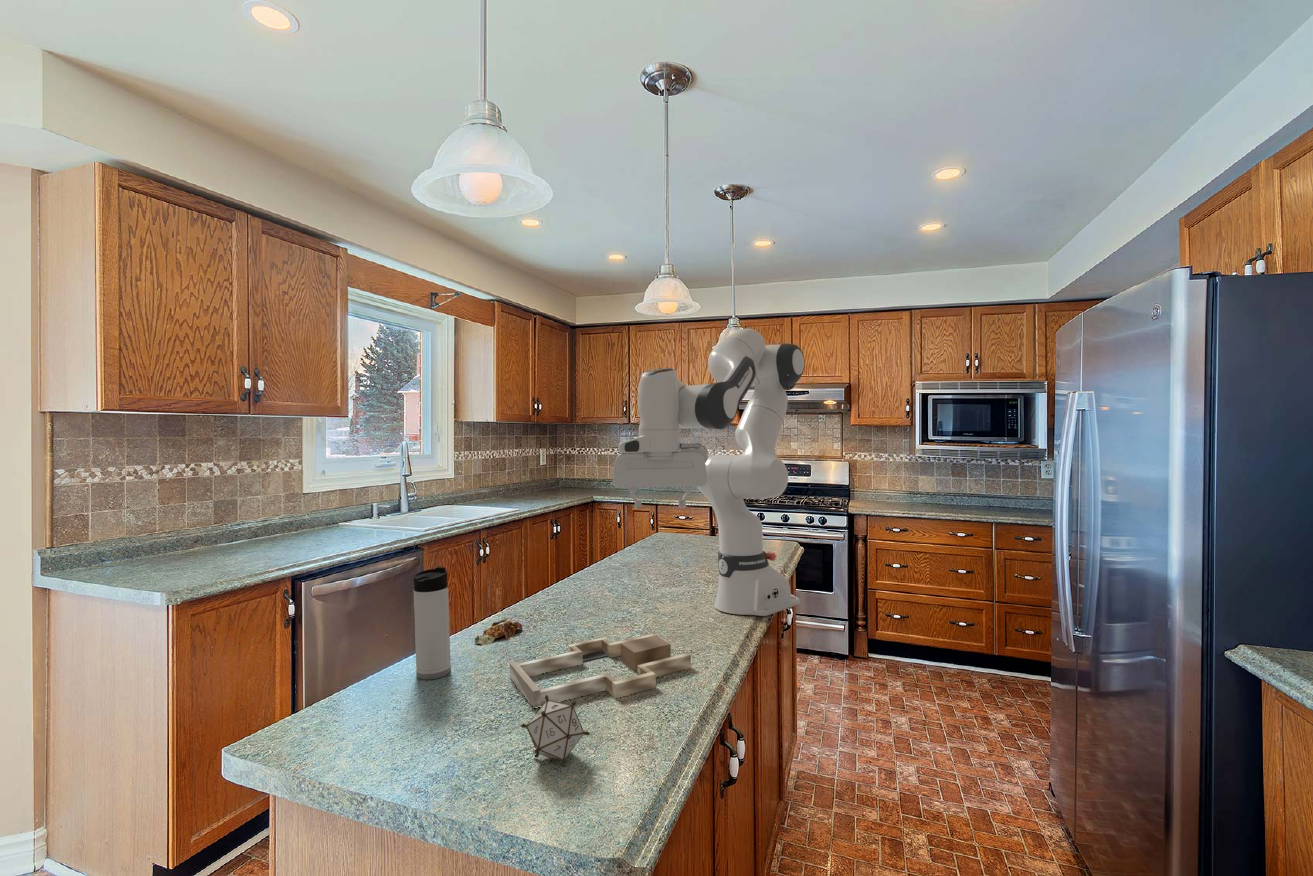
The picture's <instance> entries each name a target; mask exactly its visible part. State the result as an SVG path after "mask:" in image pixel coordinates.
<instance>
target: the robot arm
mask: <svg viewBox="0 0 1313 876" xmlns="http://www.w3.org/2000/svg"><path fill="white" fill-rule="evenodd" d="M805 365H806V361H805V356H804V352H803V351H802V350H801V348H800V347H799V345H797V344H793V343H788V342H787V343H780V344H766V340H765V338H764V337H763V334H761V333H760V332H759V331H758V330H756V329H754V328H742V329H739V330H736V331H735V332H733V333H731V334H729V335H728V336H726V337H725V338H724V339H723V340H722V341H720V342H719V343H717V345H716V346H715V347H714V348H713V349H712V350H711V351H710V353H709V356H708V359H707V366H708V371H709V373H710V375H711V377H712V378H713V380H714V381H715V382H712V383H704V384H703V383H702V384H695V385H694V384H693V385H686V384H685V383H683V382H682V381H681V380H680V379H678V377H677V372H676V369H675V368H674V369H673V368H669V367H667V368H658V369H651V370H647V371H645V372H643V373H642V374H641V376H640V379H639V384H638V395H637V396H638V397H637V398H638V401H637V405H638V406H637V407H638V408H637V409H638V414H639V418H640V420H639V426H638V436H637V437H631V438H629V439H627V440H625V441H621V442H620V443H619V444H618V452H619V454H618V455H617V456H616V458H615V460H614V466H613V473H612V485H613V486H614V488H616V489H625V488H626V489H627V488H629V495H630V497H631V499H633V502H634V510H642V507H643V506H642V502H643V501H642V499H638V498H637V496H636V493H637V488H683V492H684V495H683V496H682V498H679V499H678V509H686V507H687V499H688V498H689V496H690V495H691V493H692V487H696V488H697V490H698V491H699V492H700V493H702V495H704V496H705V498H706V499H707V501H708V502H709V503H710V505H711V508H712V509H713V512H714V514H715V518H716V520H717V527H718V540H719V541H718V543H719V547H718V548H719V550H718V552H717V568H718V573H719V575H718V576H719V577H718V587H717V593H716V599H715V603H714V608H715V609H716V610H718V611H721V612H723V613H727V614H731V615H732V614H733V615H743V616H744V615H746V616H747V615H749V616H758V617H760V616H761V617H767V616H770V615H772V614H776V613H779V612H781V611H784V610H788V609H790V608H792V607H796V606H799V605H801V600H800V598H799V597H798V596H795V595H794V594H792V593H791V585H790V582H789V580H788V579H787V577H785V576H784V575H782V573H780V572H779V571H778V570H776V569H775V568H773V566H771V565H770V564H769V563H770V562H769V561H774V562H775V561H776V560H777V554H776V553H775V552H771V551H768V552H765V551H764V546H763V545H764V543H763V541H764V538H763V537H764V536H763V523H762V521H761V519H760V517H759V516H757V514H755V513H753V512H752V511H751V510H750V509H749V508H748V507H747V505H746V503H745V500H744V499H750V500H765V499H772V498H777V497H780V496H781V495H782V494H783V493H784V492H785V491H786V488H787V486H788V483H789V473H788V472H789V471H788V469H787V466H786V465H785V463H784V462H783V461H782V460H781V459H780V458H779V457H778V456H777V454H776V446H777V442H778V438H779V435H780V434H781V430H782V427H783V424H784V422H785V421H784V420H785V418H786V414H787V409H788V402H789V397H788V394H787V392H786V391H791V390H792V389H794V387H795V386H796V384H797V383H798V382H799V381H800V379H801V377H802V375H803V374H804V371H805V367H806V366H805ZM751 387H754V391H753V393H752V395H751V397H750V399H749V400H748V402H747V404H746V406H745V408H744V410H743V412H742V415H741V418H740V419H739V422H738V424H737V427H736V429H735V432H734V437H735V441H736V443H737V445H738V446H739V447H740V448H741V450H742V451H743V452H742V453H741V454H716V455H710V456H708V455H709V452H708V449H707V447H706V446H705V445H702V444H701V443H699V442H698V443H697V442H695V443H687V442H686V443H682V442H681V438H680V437H681V432H680V431H681V430H680V429H709V430H710V429H711V430H712V429H713V430H723V429H724V430H725V429H726V428H728V427H729V426H730V424H732V423H733V421H734V420H735V418H736V416H737V413H738V410H739V407H740V405H741V402H742V401H743V400H744V398H745V396H746V395H747V393H748V392H749V390H750V388H751Z"/></svg>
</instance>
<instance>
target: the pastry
mask: <svg viewBox="0 0 1313 876" xmlns="http://www.w3.org/2000/svg"><path fill="white" fill-rule="evenodd" d="M502 623H503V624H502ZM517 629H519V630H520V631H521V630H523V625H522V623H520V622H518V621H514V622H513V621H512V620H511V619H510V618H507V617H505V618H503V619H500V620H499V621H494V622H492V624H491V627H487V628H486V629H484V631H482V632H483V634H481V635H477V636H476V637H474V642H473V644H474V645H478V644H479V645H481V646H487V645H491V644H493V643H494V641H495V639H498V638H501V637H504V638H505V639H506V640H508V639H509V638H510V639H511V638H512V637H514V636H515V635H516V631H517Z"/></svg>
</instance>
